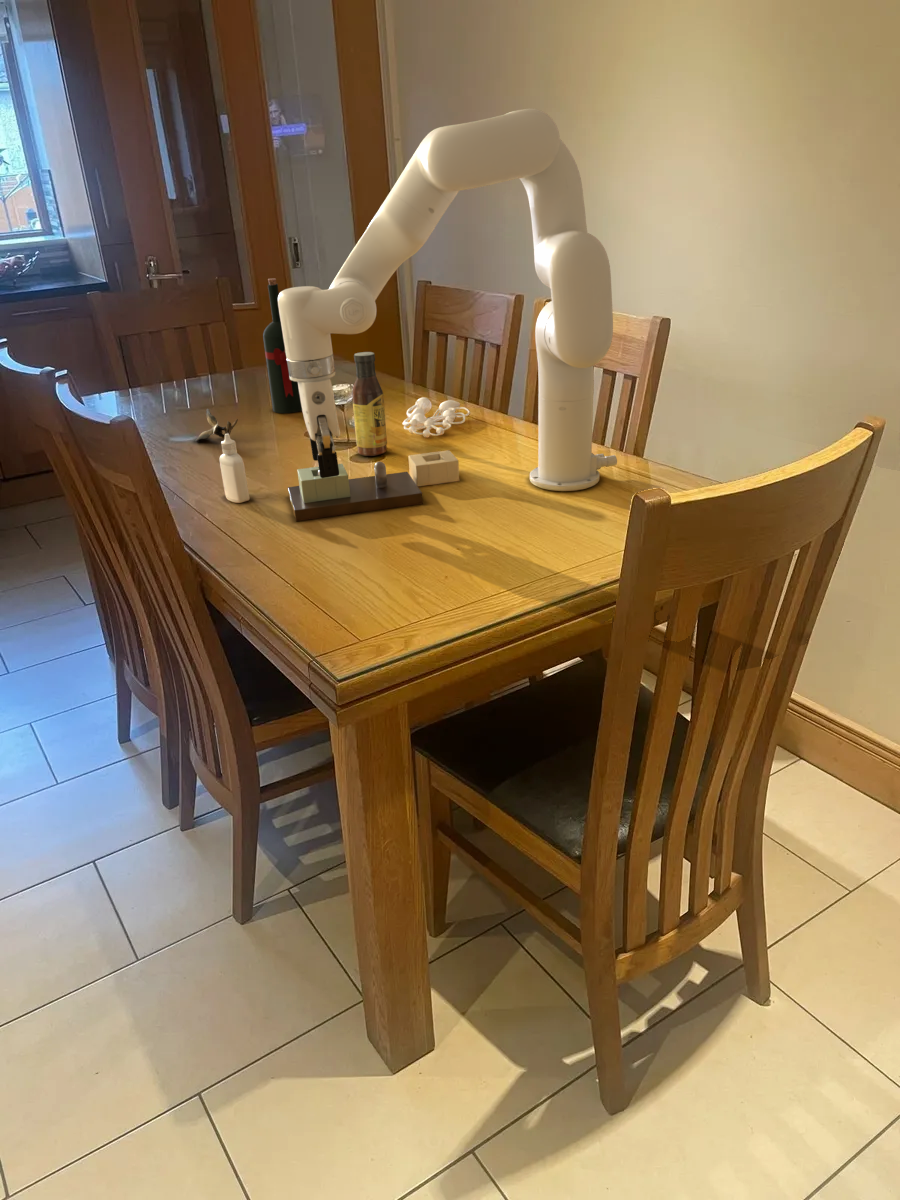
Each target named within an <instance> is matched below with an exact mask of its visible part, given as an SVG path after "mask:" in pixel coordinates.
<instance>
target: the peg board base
mask: <svg viewBox="0 0 900 1200" xmlns="http://www.w3.org/2000/svg"><path fill="white" fill-rule="evenodd" d="M373 468H374V469H373V471H374V475H371V476H364V477H356V478H348V479H349V488H350V497H346V498H339V499H331V500H323V501H316V502H309V503H304V501H303V498H302V495H301V492H300V487H299V485H294V486H288V487H287V492H288V498H289V501H290V505H291V509H292V512H293V516H294V519H295V522H302V521H309V520H317V519H322V518H331V517H339V516H344V515H350V514H351V515H353V514H357V513H359V514H360V513H366V512H374V511H379V510H380V511H382V510H388V509H394V508H396V509H397V508H402V507H409V506H417V505H423V504H424V499H423V492H422V491H421V489H420V487H419V486H417V485H416V483H415V482H414V481H413V479H412V478H411V476H410V473H409V472H408V471H402V472H395V473H387V467H386V463H385V462H383V461H377V462H376V463H375V464H374V466H373ZM317 476H320V473H319V471H318V473H317Z"/></svg>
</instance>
